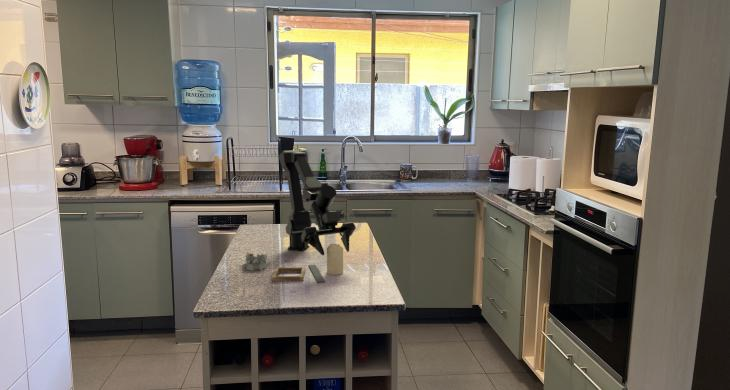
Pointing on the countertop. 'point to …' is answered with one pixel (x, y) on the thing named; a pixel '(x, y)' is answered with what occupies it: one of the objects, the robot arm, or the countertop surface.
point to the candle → (334, 259)
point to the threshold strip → (316, 274)
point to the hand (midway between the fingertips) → (336, 253)
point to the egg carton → (256, 261)
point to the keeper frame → (288, 278)
